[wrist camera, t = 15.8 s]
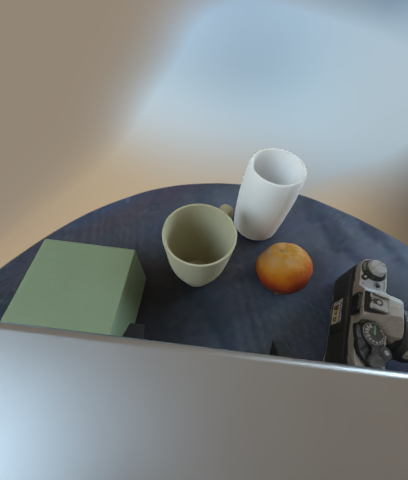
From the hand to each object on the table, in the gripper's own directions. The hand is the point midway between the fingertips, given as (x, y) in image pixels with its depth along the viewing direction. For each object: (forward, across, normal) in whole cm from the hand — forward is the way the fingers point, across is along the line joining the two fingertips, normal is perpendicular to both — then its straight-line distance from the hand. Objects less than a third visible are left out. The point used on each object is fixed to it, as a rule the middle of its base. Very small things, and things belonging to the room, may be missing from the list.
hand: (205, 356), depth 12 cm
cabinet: (+20, -15, -12) cm, 27 cm away
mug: (+27, -1, -5) cm, 27 cm away
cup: (+33, +8, +2) cm, 34 cm away
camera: (+21, +23, -10) cm, 33 cm away
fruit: (+27, +12, -5) cm, 29 cm away
